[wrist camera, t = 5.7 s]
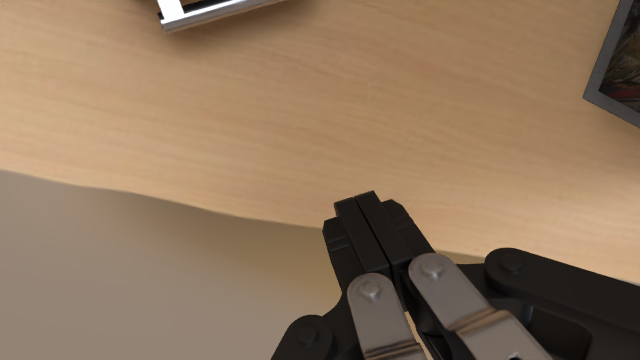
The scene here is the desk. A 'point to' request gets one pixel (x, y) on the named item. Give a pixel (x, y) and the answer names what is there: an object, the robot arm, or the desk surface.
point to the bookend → (619, 66)
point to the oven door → (202, 12)
